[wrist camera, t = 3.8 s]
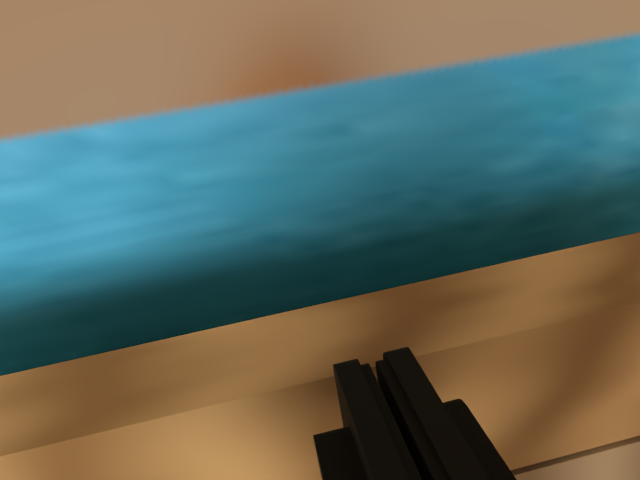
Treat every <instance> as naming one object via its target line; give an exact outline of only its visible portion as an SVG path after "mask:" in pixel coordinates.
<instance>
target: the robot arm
mask: <svg viewBox="0 0 640 480" xmlns="http://www.w3.org/2000/svg"><path fill="white" fill-rule="evenodd" d="M375 365H376V373H377V379H376V377H375V375H374V373H373V371H372V368H371V366H370V364H369V363H366V364H362V365H360V362H359V360H358V359H354V360H349V361H345V362H341V363H337V364H333V370H334V376H335V382H336V388H337V393H338V399H339V405H340V411H341V417H342V422H343V428H340V429H336V430H332V431H328V432H324V433H320V434H316V435H313V438H314V443H315V448H316V453H317V458H318V463H319V468H320V473H321V477H322V480H517V479H516V478H515V477H514V475H513V474H512V472H511V471H510V469H509V468H508V466H507V465H506V463H505V462H504V460H503V459H502V457H501V456H500V454H499V453H498V451H497V450H496V448H495V447H494V445H493V444H492V442H491V441H490V439H489V438H488V436H487V435H486V433H485V432H484V430H483V429H482V427H481V426H480V424H479V423H478V421H477V420H476V418H475V417H474V415H473V414H472V412H471V411H470V409H469V408H468V406H467V405H466V404H465V403H464V401H463V400H461V399H455V400H451V401H447V402H442V401H441V399H440V397H439V396H438V394H437V392H436V391H435V389H434V388H433V386H432V384H431V383H430V381H429V379H428V378H427V376H426V374H425V373H424V371H423V369H422V368H421V366H420V365H419V363H418V361H417V360H416V358H415V356H414V355H413V353H412V351H411V350H410V348H409V347H404V348H400V349H396V350H392V351H387V352H384V353H383V360H379V361H376V362H375ZM377 381H378V382H377Z"/></svg>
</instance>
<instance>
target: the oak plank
mask: <svg viewBox="0 0 640 480" xmlns="http://www.w3.org/2000/svg"><path fill="white" fill-rule="evenodd" d="M404 347H409V348H410V350H411V351H412V353H413V355H414V356H415V358H416V360H417V361H418V363H419V365H420V366H421V368H422V369H423V371H424V373H425V374H426V376H427V378H428V379H429V381H430V383H431V384H432V386H433V388H434V389H435V391H436V392H437V394H438V396H439V397H440V399H441V401H442V402H447V401H451V400H455V399H461V400H463V401H464V403H465V404H466V405H467V406H468V408H469V409H470V411H471V412H472V414H473V415H474V417H475V418H476V420H477V421H478V423H479V424H480V426H481V427H482V429H483V430H484V432H485V433H486V435H487V436H488V438H489V439H490V441H491V442H492V444H493V445H494V447H495V448H496V450H497V451H498V453H499V454H500V456H501V457H502V459H503V460H504V462H505V463H506V465H507V466H508V468H509V469H510V470H514V469H518V468H521V467H525V466H529V465H533V464H536V463H540V462H544V461H547V460H551V459H555V458H558V457H562V456H566V455H569V454H573V453H577V452H581V451H584V450H588V449H592V448H595V447H599V446H603V445H606V444H610V443H614V442H617V441H621V440H625V439H629V438H632V437H636V436H640V232H638V233H634V234H630V235H625V236H621V237H616V238H612V239H607V240H603V241H598V242H594V243H590V244H585V245H581V246H576V247H572V248H567V249H563V250H558V251H554V252H550V253H545V254H541V255H536V256H532V257H527V258H523V259H518V260H514V261H509V262H505V263H501V264H496V265H492V266H487V267H483V268H478V269H474V270H469V271H465V272H461V273H456V274H452V275H447V276H443V277H438V278H434V279H429V280H425V281H421V282H416V283H412V284H407V285H403V286H398V287H394V288H389V289H385V290H381V291H376V292H372V293H367V294H363V295H358V296H354V297H349V298H345V299H341V300H336V301H332V302H327V303H323V304H318V305H314V306H309V307H305V308H301V309H296V310H292V311H287V312H283V313H278V314H274V315H269V316H265V317H260V318H256V319H252V320H247V321H243V322H238V323H234V324H229V325H225V326H220V327H216V328H212V329H207V330H203V331H198V332H194V333H189V334H185V335H180V336H176V337H172V338H167V339H163V340H158V341H154V342H149V343H145V344H140V345H136V346H132V347H127V348H123V349H118V350H114V351H109V352H105V353H100V354H96V355H92V356H87V357H83V358H78V359H74V360H69V361H65V362H60V363H56V364H52V365H47V366H43V367H38V368H34V369H29V370H25V371H20V372H16V373H11V374H7V375H3V376H0V480H322V477H321V473H320V468H319V463H318V458H317V453H316V448H315V443H314V438H313V435H316V434H320V433H324V432H328V431H332V430H336V429H340V428H343V422H342V417H341V411H340V405H339V399H338V393H337V388H336V382H335V376H334V370H333V364H337V363H341V362H345V361H349V360H354V359H358V360H359V362H360V365H362V364H366V363H369V364H370V366H371V368H372V371H373V373H374V375H375V377H376V379H377V373H376V365H375V362H376V361H379V360H383V353H384V352H387V351H392V350H396V349H400V348H404ZM377 382H378V381H377Z"/></svg>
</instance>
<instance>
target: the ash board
mask: <svg viewBox="0 0 640 480" xmlns="http://www.w3.org/2000/svg"><path fill="white" fill-rule="evenodd" d="M510 471H511V472H512V474H513V475H514V477H515V478H516V479H517V480H640V436H636V437H632V438H629V439H625V440H621V441H617V442H614V443H610V444H606V445H603V446H599V447H595V448H592V449H588V450H584V451H581V452H577V453H573V454H569V455H566V456H562V457H558V458H555V459H551V460H547V461H544V462H540V463H536V464H533V465H529V466H525V467H521V468H518V469H514V470H510Z"/></svg>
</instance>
